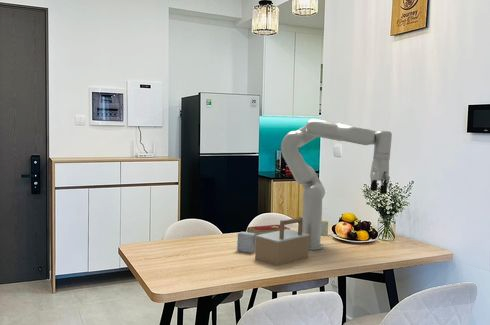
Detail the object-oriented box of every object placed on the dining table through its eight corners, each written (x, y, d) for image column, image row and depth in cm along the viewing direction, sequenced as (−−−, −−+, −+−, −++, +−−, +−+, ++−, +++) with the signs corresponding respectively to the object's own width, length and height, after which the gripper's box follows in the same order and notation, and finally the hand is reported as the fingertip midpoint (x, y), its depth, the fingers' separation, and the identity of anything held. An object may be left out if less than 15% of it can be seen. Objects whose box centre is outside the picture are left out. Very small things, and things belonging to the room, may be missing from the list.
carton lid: (256, 236, 203) (257, 217, 202) (287, 230, 219) (288, 212, 218) (278, 242, 194) (279, 222, 193) (309, 235, 209) (310, 217, 209)
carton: (255, 258, 204) (256, 236, 203) (286, 250, 219) (287, 230, 219) (277, 265, 195) (278, 242, 194) (308, 257, 210) (309, 235, 209)
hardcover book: (247, 233, 254) (247, 226, 254) (278, 231, 264) (278, 223, 264) (258, 238, 244) (258, 231, 243) (290, 235, 254) (290, 228, 254)
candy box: (327, 235, 257) (328, 220, 257) (327, 236, 255) (328, 221, 255) (298, 233, 259) (299, 219, 258) (298, 234, 257) (299, 219, 256)
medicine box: (255, 251, 216) (256, 233, 216) (252, 253, 212) (252, 235, 212) (240, 248, 220) (241, 231, 219) (236, 251, 216) (237, 233, 215)
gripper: (366, 154, 224) (363, 189, 225) (382, 157, 207) (379, 194, 209) (380, 155, 225) (377, 189, 227) (398, 158, 209) (394, 195, 210)
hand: (378, 192), depth 218 cm, fingers open, 9 cm apart
